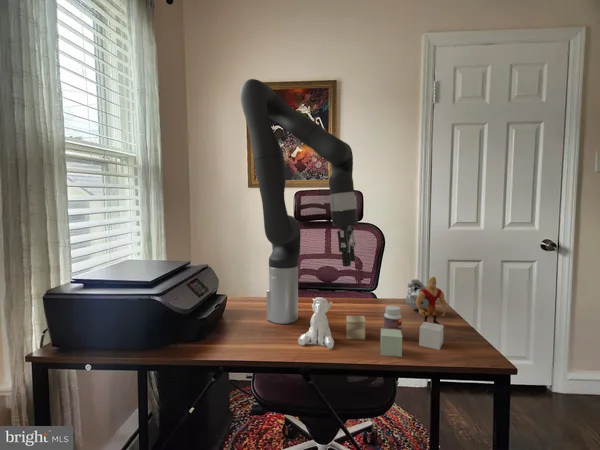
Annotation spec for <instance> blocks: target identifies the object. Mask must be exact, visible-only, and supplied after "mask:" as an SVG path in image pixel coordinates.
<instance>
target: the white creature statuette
mask: <svg viewBox="0 0 600 450" xmlns="http://www.w3.org/2000/svg"><path fill="white" fill-rule="evenodd" d="M312 301H313V302H312V304H311V307H312V312H313V315H312V316H311V318H310V321H309V322H310V323H309V324H310V327H309V328H308V331H307V332H306V333H303V334H301V335H300V336H299V337H298V339H297V343H298V345H300V346H303V347H304V346H306V345H311V346H312V345H318V346H324V347H326V348H327V349H328V350H332V349H333V348H334V345H335V341H334V338H333V337H332V331H331V329H330V326H329V321H328V320H329V319H328V317H327V314H326V313H327V312H328V311H329V309H330V308H331V307H332V305H333V301H330V302H328V299H326V298H324V297H320V296H318V297H315V298H312Z"/></svg>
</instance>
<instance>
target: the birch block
mask: <svg viewBox="0 0 600 450" xmlns="http://www.w3.org/2000/svg"><path fill="white" fill-rule="evenodd" d="M345 328H346V329H345V331H346V334H345V335H346V340H361V341H363V340H366V318H365V315H346V327H345Z"/></svg>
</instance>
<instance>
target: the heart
mask: <svg viewBox="0 0 600 450" xmlns="http://www.w3.org/2000/svg"><path fill="white" fill-rule="evenodd" d="M427 286H428V285H424V283H423V282H421V281H420V280H419V279H417V278H415V279H410V281H409V282H408V283H407V288H409V289H408V290H407V295H406V296H405V298H406V299H405V303H406V305H407V307H409V308H411V309H415V310H418V311H419V309H418V307H417V305H416V300H417V296H418V294H419V292H420V291H421V290H423V289H425V288H426V287H427ZM428 304H429V302H428V300H427V299H423V301H422V303H421V309H422V310H424V309H428ZM413 311H414V310H413ZM414 312H415V311H414Z"/></svg>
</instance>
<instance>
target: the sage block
mask: <svg viewBox="0 0 600 450" xmlns="http://www.w3.org/2000/svg"><path fill="white" fill-rule="evenodd" d="M379 347H380V356H387V357H399V358H403V357H402V356H403V333H402V331H401V330H395V329H384V328H381V327H380V346H379Z"/></svg>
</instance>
